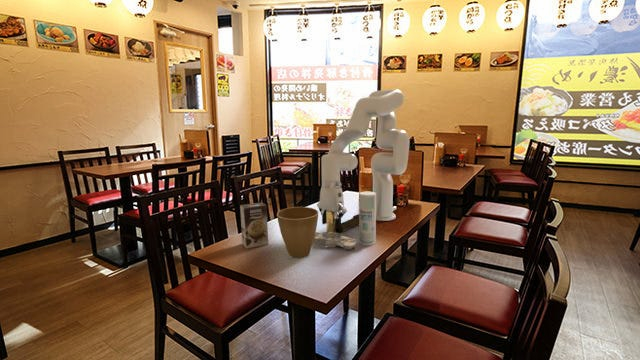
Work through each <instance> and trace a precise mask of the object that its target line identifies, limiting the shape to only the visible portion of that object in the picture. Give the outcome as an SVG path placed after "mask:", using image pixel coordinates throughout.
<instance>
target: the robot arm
mask: <svg viewBox="0 0 640 360" xmlns="http://www.w3.org/2000/svg"><path fill="white" fill-rule="evenodd" d="M404 101H405V96H404V93H403V92H402V91H401V90H399V89H383V90H382V89H380V90H374V91H372V92H371V93H370V94H369V96H368V97H362V98H360V99H358V101H356V103H355V105H354V106H355V107H354V109H353V111H352V114H351V116H350V119H349V121H348V124H347V126H346V127H345V128H344V129H343V131H341V133H340V134H338V136H336V138H335V139H334V140H333V142H332V143H331V145H330V147H329V151H328V152H327V154H323V155H322V156H321V188H320V194H319V202H318V203H316V207H317V208H318V210H319V211H318V212H320V215H321V223H322V224H321V225H327V224H326V210H327V211H331V212H334V213H335V216H336V219H335V227H336V228H338V227H340V226H341V223H342V218H343V216H344V215H345V214H346V213H347V212H348V210H347V208H346V207H345V202H344V200H345V199H344V193H343V189H342V182H341V172H344V171H345V172H347V171H348V172H350V171H353V170H354V169H356V168H357V166H358V163H359V162H358V158H357V156H356V155H355V154H353V153H350V152H344V151H345V149H346V148H347V147H348V146H349V145H350V144H352V143H353V142H356V141H358V140H359V139H361V138H363V137H364V136H366V133H367V131H368V128H369V125H370V123H371V121H372V118H377V128H376V139H375V140H376V147H377V148H378V149H380V150H385V151H393V152H383V151H382V152H377V153H375V154H373V155H372V157H371V159H370V168H371V172H372V174H371V175H372V192H375V193H376V221H381V222H382V221H383V222H385V221H387V222H388V221H393V220H395V219H396V217H397V216H396V214H395V213H394V211H397V206H395V205H394V206H393V203H394V201H393V197H394V196H393V195H394V181H393V177H392V175H395V176H396V175H397V176H398V175H400V176H401V175H403V174H404V173H405V172H406V170H407V168H408V162H409V152H410V137H409V133H407V132H406V131H405V130H403V129H397V117H396V114H395V111H397V110H399V109H400V108H401V107H402V106H403V104H404Z"/></svg>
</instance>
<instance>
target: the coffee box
mask: <svg viewBox="0 0 640 360" xmlns="http://www.w3.org/2000/svg"><path fill="white" fill-rule="evenodd" d="M239 206H240V207H239V209H240V222H241V223H240V226H241V243H242V246H244V247H245V249H251V248H256V247H261V246H262V247H263V246H266V245H269V233H268V229H269V228H268V210H267V208H268V207H267V205H266V204H265V203H264V202H254V203H253V202H252V203H247V204H240V205H239Z"/></svg>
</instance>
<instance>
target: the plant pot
mask: <svg viewBox="0 0 640 360" xmlns="http://www.w3.org/2000/svg"><path fill="white" fill-rule="evenodd" d="M276 216H277V217H276V218H277V223H278V227H279V230H280V234H281V238H282V240H283V244H284V246H285V248H286V251H287V252H288V255H289V256H290V257H291V258H293V259H302V258H306V257H308V256H310V253H311V250H312V247H313V244H314V237H315V233H316V232H317V226H318V221H319V220H318V219H319V211H318V210H317V209H315V208H313V207H309V206H292V207H287V208H284V209H283V208H282V209H281V210H278V211H277V213H276Z"/></svg>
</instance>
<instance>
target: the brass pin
mask: <svg viewBox="0 0 640 360" xmlns="http://www.w3.org/2000/svg"><path fill="white" fill-rule="evenodd" d="M335 219H336V216H335V213H334V212H331V211H327V210H326V224H325V225H326V232H336V227H335Z"/></svg>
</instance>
